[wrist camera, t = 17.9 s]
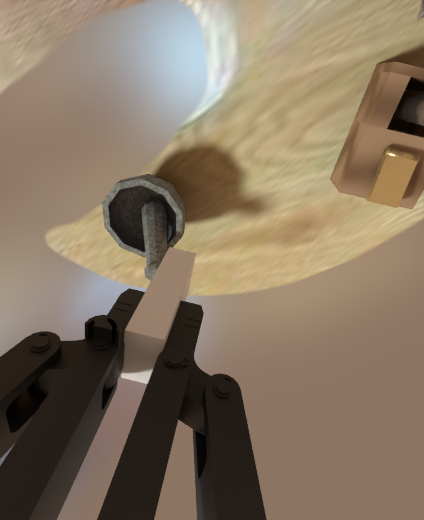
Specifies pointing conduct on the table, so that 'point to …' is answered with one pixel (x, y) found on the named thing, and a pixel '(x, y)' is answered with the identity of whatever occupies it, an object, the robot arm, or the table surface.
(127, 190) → the mortar and pestle
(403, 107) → the red-capped peg
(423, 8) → the bird model
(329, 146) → the table surface
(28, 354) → the robot arm
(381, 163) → the golden rectangular bar
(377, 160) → the block
